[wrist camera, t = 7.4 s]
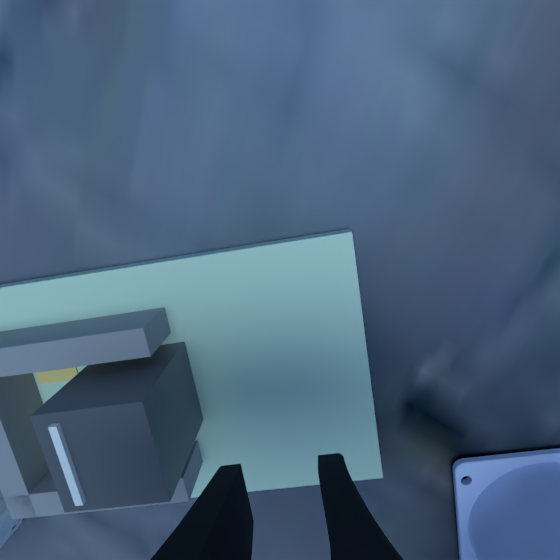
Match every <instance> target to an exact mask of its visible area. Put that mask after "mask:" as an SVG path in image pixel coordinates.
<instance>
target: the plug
mask: <svg viewBox="0 0 560 560" xmlns="http://www.w3.org/2000/svg"><path fill="white" fill-rule="evenodd" d="M30 417H31V420H32V423H33V426H34V429H35V431H36V434H37V437H38V440H39V443H40V445H41V448H42V451H43V454H44V456H45V459H46V462H47V465H48V468H49V470H50V473H51V476H52V479H53V482H54V484H55V487H56V490H57V493H58V496H59V498H60V501H61V504H62V507H63V509H64V512H65V513H66V512H75V511H85V510H95V509H104V508H114V507H124V506H133V505H143V504H153V503H162V502H170V501H171V499H172V497H173V494H174V492H175V489H176V487H177V484H178V482H179V479H180V477H181V474H182V472H183V469H184V467H185V464H186V462H187V459H188V457H189V454H190V452H191V449H192V447H193V444H194V442H195V439H196V437H197V434H198V432H199V429H200V427H201V424H202V422H203V420H204V419H203V415H202V411H201V407H200V403H199V399H198V394H197V390H196V386H195V382H194V378H193V374H192V370H191V366H190V361H189V357H188V353H187V349H186V345H185V342H178V343H171V344H164V345H160V346H159V347H158V349H157V350H156V351H155V352H154V353H153V355H152V356H151V357H144V358H137V359H130V360H122V361H115V362H108V363H100V364H93V365H87V366H86V367H85V368H84V369H82V370H81V371H80V372H79V373H78V374H77V375H76V376H75V377H73V378H72V379H71V380H70V381H69V382H68V383H67V384H66V385H64V386H63V387H62V388H61V389H60V390H59V391H58V392H56V393H55V394H54V395H53V396H52V397H51V398H50V399H49V400H47V401H46V402H45V403H44V404H43V405H42V406H41V407H40V408H38V409H37V410H36V411H35V412H34V413H33V414H32V415H31V416H30Z"/></svg>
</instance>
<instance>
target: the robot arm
mask: <svg viewBox="0 0 560 560" xmlns="http://www.w3.org/2000/svg"><path fill="white" fill-rule="evenodd" d="M318 476H319V482H320V487H321V493H322V499H323V505H324V511H325V517H326V523H327V529H328V534H329V540H330V548H331V560H403V559H402V557H401V556H400V555H399V554H398V552H397V551H396V550H395V548H394V547H393V546H392V544H391V543H390V542H389V540H388V539H387V537H386V536H385V534H384V533H383V531H382V530H381V529H380V527H379V526H378V524H377V523H376V521H375V520H374V518H373V516H372V515H371V513H370V512H369V510H368V508H367V506H366V505H365V503H364V501H363V500H362V498H361V496H360V494H359V492H358V491H357V489H356V487H355V485H354V483H353V481H352V479H351V476H350V474H349V472H348V469H347V467H346V464H345V461H344V456H343V455H341V454H340V453H334V454H325V455H318ZM465 476H468V477H467V478H466V479H462V478H463V477H465ZM453 480H454V493H455V506H456V519H457V532H458V545H459V558H460V560H560V448H556V449H547V450H537V451H528V452H518V453H509V454H499V455H490V456H480V457H471V458H462V459H458V460H457V461H456V462H455V463H454V464H453ZM253 523H254V521H253V516H252V512H251V507H250V503H249V498H248V494H247V489H246V485H245V480H244V476H243V471H242V467H241V464H233V465H224V466H220V467H219V469H218V470H217V471H216V473H215V474H214V476H213V477H212V479H211V480H210V481H209V483H208V484H207V486H206V487H205V489H204V490H203V492H202V493H201V495H200V496H199V497H198V499H197V500H196V502H195V503H194V504H193V506H192V507H191V509H190V510H189V511H188V513H187V514H186V515H185V517H184V518H183V519H182V521H181V522H180V524H179V525H178V526H177V527H176V529H175V530H174V531H173V533H172V534H171V535H170V536H169V538H168V539H167V540H166V541H165V543H164V544H163V545H162V546H161V547H160V549H159V550H158V551H157V552H156V554H155V555H154V556H153V557H152V558H151V559H150V560H251V555H252V541H253Z"/></svg>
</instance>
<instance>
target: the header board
mask: <svg viewBox="0 0 560 560" xmlns="http://www.w3.org/2000/svg"><path fill="white" fill-rule="evenodd" d="M178 342H185V345H186V349H187V353H188V357H189V361H190V366H191V370H192V374H193V378H194V382H195V386H196V390H197V394H198V399H199V403H200V407H201V411H202V415H203V419H204V420H203V422H202V424H201V427H200V429H199V432H198V434H197V437H196V439H195V442H194V444H193V447H192V449H191V452H190V454H189V457H188V459H187V462H186V464H185V467H184V469H183V472H182V474H181V477H180V479H179V482H178V484H177V487H176V489H175V492H174V494H173V497H172V499H171V501H170V502H162V503H153V504H143V505H133V506H124V507H114V508H104V509H95V510H85V511H75V512H66V513H65V512H64V509H63V507H62V504H61V501H60V498H59V496H58V493H57V490H56V487H55V484H54V482H53V479H52V476H51V473H50V470H49V468H48V465H47V462H46V459H45V456H44V454H43V451H42V448H41V445H40V443H39V440H38V437H37V434H36V431H35V429H34V426H33V423H32V420H31V417H30V416H31V415H32V414H33V413H34V412H35V411H36V410H37V409H38V408H40V407H41V406H42V405H43V404H44V403H45V402H46V401H47V400H49V399H50V398H51V397H52V396H53V395H54V394H55V393H56V392H58V391H59V390H60V389H61V388H62V387H63V386H64V385H66V384H67V383H68V382H69V381H70V380H71V379H72V378H73V377H75V376H76V375H77V374H78V373H79V372H80V371H81V370H82V369H84V368H85V367H86V366H87V365H93V364H100V363H108V362H115V361H122V360H130V359H137V358H144V357H151V356H152V355H153V353H154V352H155V351H156V350H157V349H158V347H159V346H160V345H164V344H171V343H178ZM334 453H340V454H341V455H343V456H344V461H345V464H346V467H347V469H348V472H349V474H350V476H351V479H352V481H358V480H368V479H378V478H383V474H382V466H381V458H380V450H379V442H378V434H377V426H376V418H375V411H374V403H373V395H372V387H371V379H370V371H369V363H368V355H367V347H366V339H365V331H364V323H363V315H362V307H361V299H360V291H359V283H358V275H357V267H356V259H355V251H354V243H353V235H352V231H351V230H350V229H344V230H338V231H332V232H326V233H319V234H313V235H307V236H301V237H294V238H288V239H282V240H276V241H269V242H263V243H257V244H251V245H244V246H238V247H232V248H226V249H219V250H213V251H207V252H200V253H194V254H188V255H182V256H175V257H169V258H163V259H157V260H150V261H144V262H138V263H132V264H125V265H119V266H113V267H107V268H100V269H94V270H88V271H82V272H75V273H69V274H63V275H57V276H50V277H44V278H38V279H31V280H25V281H19V282H13V283H6V284H0V490H1V493H2V495H3V498H4V500H5V503H6V505H7V508H8V510H9V513H10V515H11V518H12V519H22V518H32V517H42V516H51V515H61V514H71V513H81V512H91V511H100V510H110V509H120V508H130V507H140V506H149V505H159V504H169V503H179V502H189V501H190V498H193V497H199V496H200V495H201V493H202V492H203V490H204V489H205V487H206V486H207V484H208V483H209V481H210V480H211V479H212V477H213V476H214V474H215V473H216V471H217V470H218V469H219V467H220V466H224V465H233V464H241V467H242V471H243V476H244V480H245V485H246V489H247V492H251V491H261V490H271V489H280V488H290V487H300V486H310V485H319V484H320V482H319V476H318V455H325V454H334Z"/></svg>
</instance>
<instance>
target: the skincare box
mask: <svg viewBox="0 0 560 560" xmlns="http://www.w3.org/2000/svg"><path fill="white" fill-rule="evenodd" d="M22 520H23V518H22V519H12V518H11V515H10V513H9V510H8V508H7V505H6V503H5V500H4V498H3V495H2V493H1V490H0V548H1V547H2V545H3V544H4V543H5V542H6V541H7V539H8V538H9V537H10V536H11V535H12V533H13V532H14V531H15V530H16V529H17V528H18V527H19V525H20V524H21V522H22Z"/></svg>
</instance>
